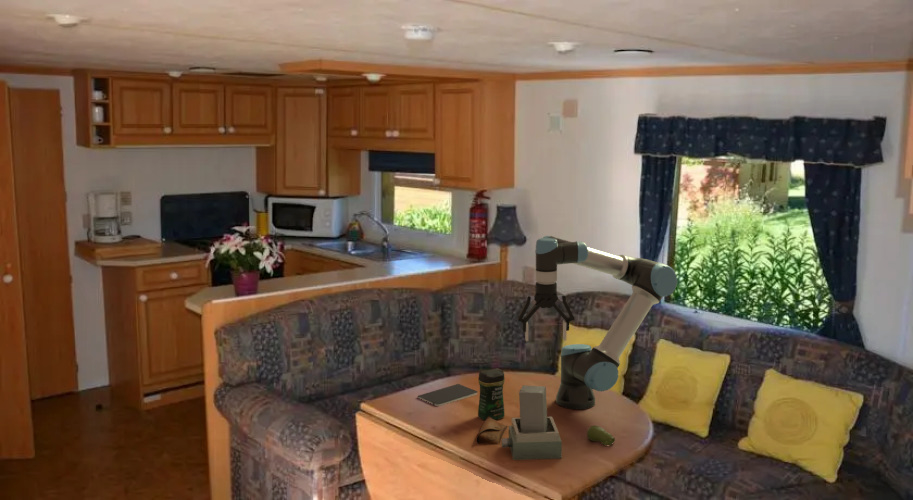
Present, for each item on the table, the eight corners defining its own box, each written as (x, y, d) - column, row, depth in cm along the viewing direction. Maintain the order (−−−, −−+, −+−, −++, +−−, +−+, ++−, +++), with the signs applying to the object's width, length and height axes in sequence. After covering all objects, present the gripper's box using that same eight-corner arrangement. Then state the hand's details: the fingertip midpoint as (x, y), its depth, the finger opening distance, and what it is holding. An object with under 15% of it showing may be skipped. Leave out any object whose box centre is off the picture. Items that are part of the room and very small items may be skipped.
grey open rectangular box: (554, 441, 280) (554, 416, 279) (561, 458, 267) (561, 432, 265) (500, 442, 280) (500, 418, 278) (504, 460, 266) (504, 434, 264)
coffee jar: (486, 423, 296) (486, 375, 293) (474, 417, 303) (474, 369, 300) (508, 418, 302) (508, 370, 298) (496, 411, 308) (496, 364, 305)
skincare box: (547, 430, 274) (547, 385, 272) (543, 438, 268) (544, 392, 265) (523, 427, 277) (523, 383, 274) (518, 435, 270) (518, 390, 267)
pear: (594, 421, 283) (618, 432, 277) (591, 434, 285) (616, 446, 279) (585, 425, 279) (610, 437, 273) (583, 439, 281) (607, 451, 275)
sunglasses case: (500, 445, 278) (490, 428, 277) (483, 453, 279) (473, 437, 279) (508, 425, 295) (499, 409, 295) (492, 433, 297) (482, 417, 296)
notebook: (458, 387, 337) (417, 399, 323) (458, 383, 337) (417, 395, 323) (478, 395, 327) (437, 408, 314) (478, 391, 327) (437, 404, 314)
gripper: (579, 279, 291) (578, 336, 295) (509, 280, 290) (509, 337, 294) (583, 283, 284) (582, 341, 287) (512, 285, 283) (512, 343, 286)
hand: (545, 339), depth 291 cm, fingers open, 13 cm apart
